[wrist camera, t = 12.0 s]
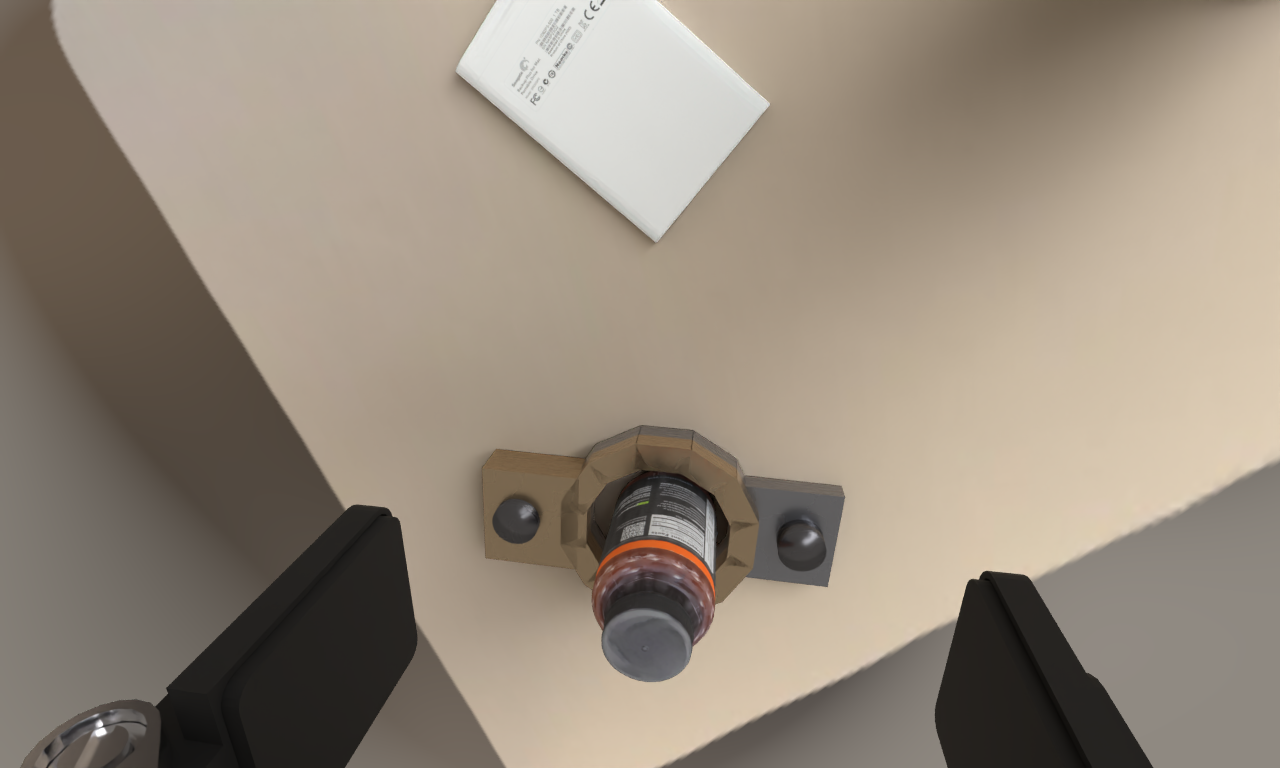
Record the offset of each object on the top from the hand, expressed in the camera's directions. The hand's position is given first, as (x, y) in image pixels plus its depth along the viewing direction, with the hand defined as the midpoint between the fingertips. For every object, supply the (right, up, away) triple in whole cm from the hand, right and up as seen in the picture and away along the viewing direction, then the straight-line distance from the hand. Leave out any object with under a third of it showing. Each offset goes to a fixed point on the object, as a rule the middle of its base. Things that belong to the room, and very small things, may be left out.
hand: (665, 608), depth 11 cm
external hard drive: (-2, +18, +21) cm, 28 cm away
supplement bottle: (+1, -4, +28) cm, 28 cm away
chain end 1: (-1, -4, +28) cm, 28 cm away
